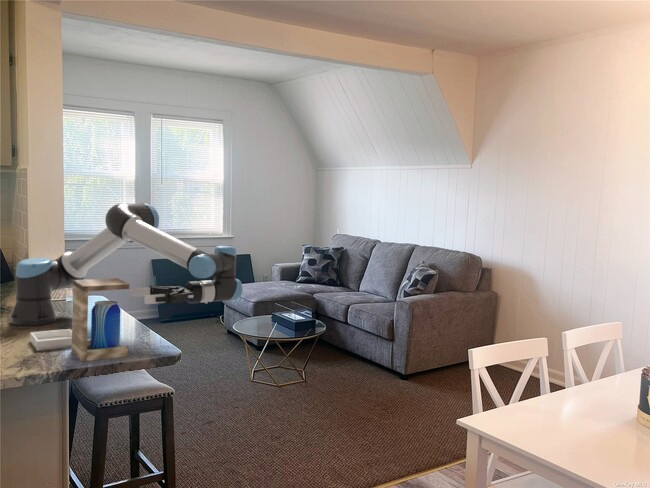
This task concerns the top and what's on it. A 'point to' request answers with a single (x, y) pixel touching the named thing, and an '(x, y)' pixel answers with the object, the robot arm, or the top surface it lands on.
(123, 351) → the dock
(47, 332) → the tray
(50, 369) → the top surface
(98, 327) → the beer can
